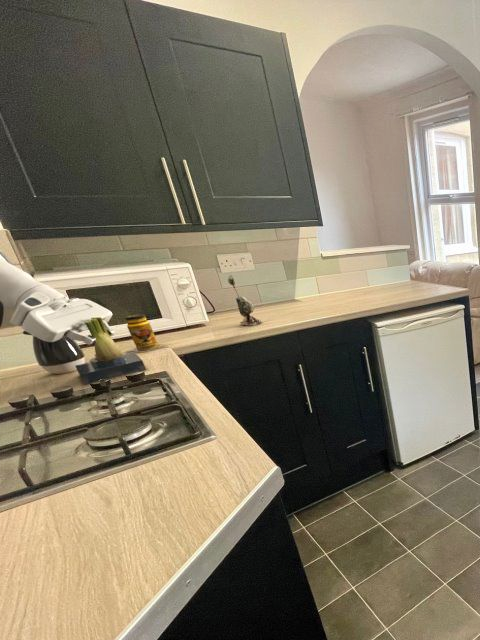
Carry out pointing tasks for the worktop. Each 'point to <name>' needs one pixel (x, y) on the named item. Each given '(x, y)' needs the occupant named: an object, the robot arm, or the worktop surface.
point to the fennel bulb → (103, 341)
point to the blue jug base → (109, 368)
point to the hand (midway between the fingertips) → (103, 338)
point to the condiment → (141, 333)
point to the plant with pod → (244, 307)
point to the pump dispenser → (57, 354)
